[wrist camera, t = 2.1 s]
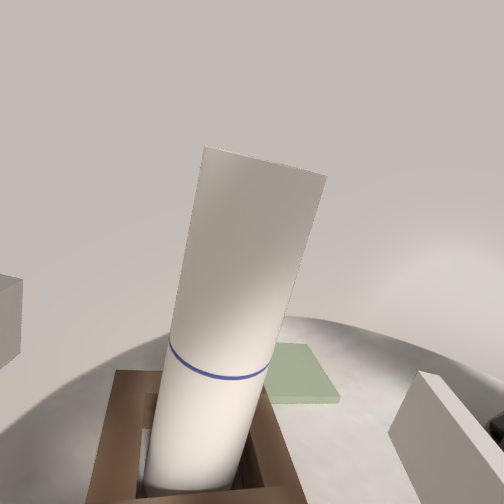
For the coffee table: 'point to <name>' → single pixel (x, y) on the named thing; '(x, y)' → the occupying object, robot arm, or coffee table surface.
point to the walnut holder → (142, 416)
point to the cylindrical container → (227, 316)
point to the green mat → (297, 377)
